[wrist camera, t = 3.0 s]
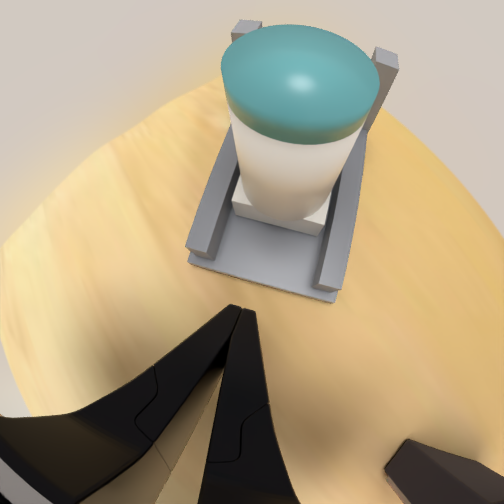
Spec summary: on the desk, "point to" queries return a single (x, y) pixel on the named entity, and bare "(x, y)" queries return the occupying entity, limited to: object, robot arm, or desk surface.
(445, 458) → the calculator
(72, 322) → the desk surface
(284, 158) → the teal-lidded white jar
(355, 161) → the mount
